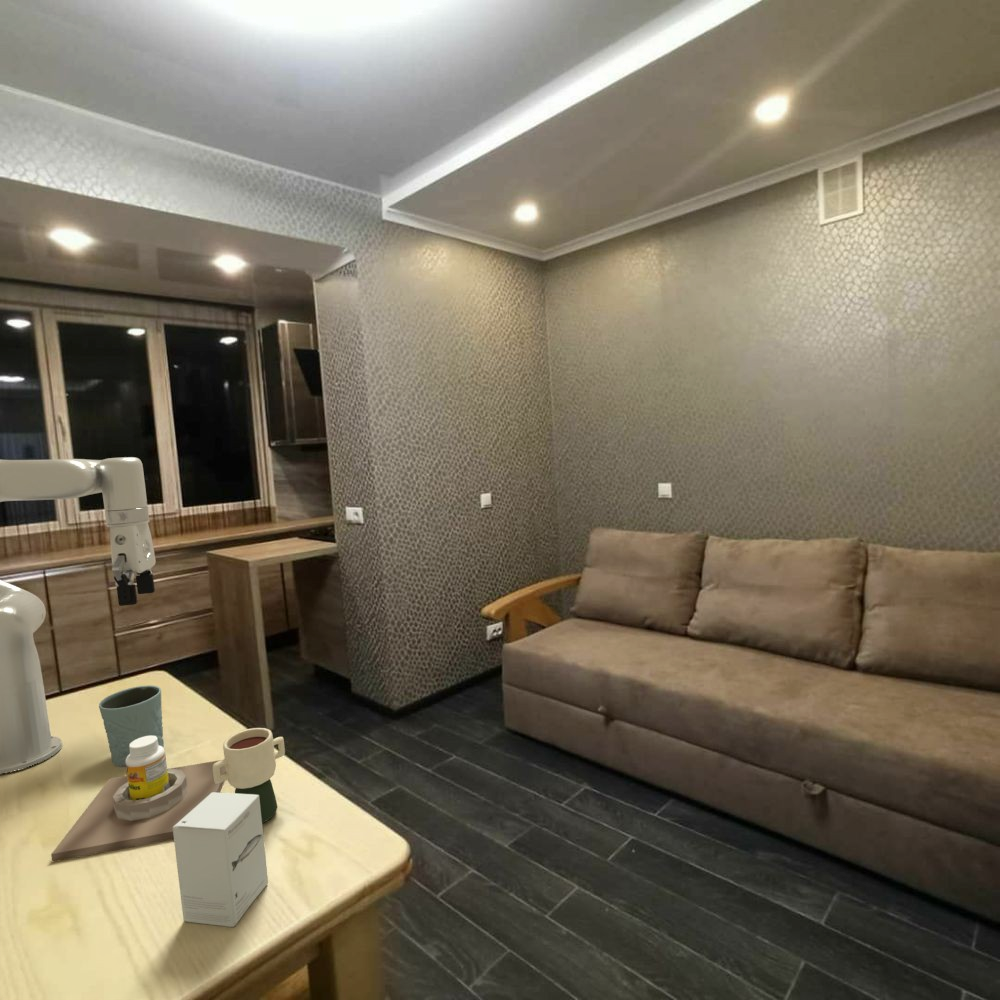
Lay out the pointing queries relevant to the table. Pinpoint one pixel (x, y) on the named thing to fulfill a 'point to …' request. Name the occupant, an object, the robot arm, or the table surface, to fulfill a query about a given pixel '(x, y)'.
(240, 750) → the character mug
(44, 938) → the table surface
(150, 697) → the blue-grey plant pot
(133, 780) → the supplement bottle
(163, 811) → the collar board
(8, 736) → the robot arm
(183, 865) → the supplement box
